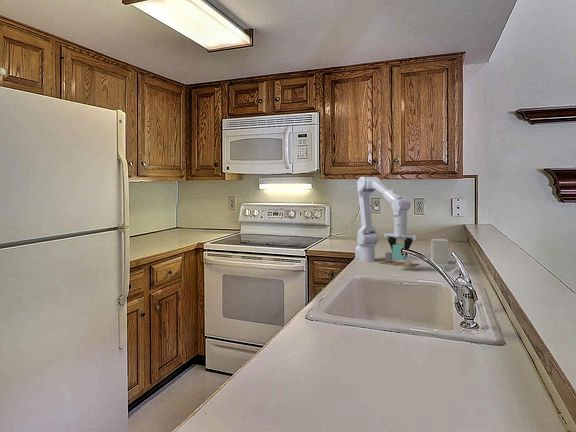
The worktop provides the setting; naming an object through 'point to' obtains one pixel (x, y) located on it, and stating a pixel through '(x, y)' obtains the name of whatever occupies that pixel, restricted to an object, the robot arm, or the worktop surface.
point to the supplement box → (439, 251)
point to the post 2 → (408, 260)
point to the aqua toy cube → (398, 251)
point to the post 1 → (388, 257)
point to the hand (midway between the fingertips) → (400, 254)
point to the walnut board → (398, 264)
